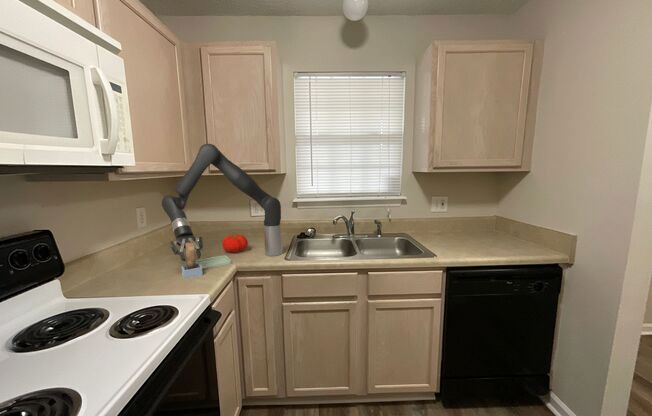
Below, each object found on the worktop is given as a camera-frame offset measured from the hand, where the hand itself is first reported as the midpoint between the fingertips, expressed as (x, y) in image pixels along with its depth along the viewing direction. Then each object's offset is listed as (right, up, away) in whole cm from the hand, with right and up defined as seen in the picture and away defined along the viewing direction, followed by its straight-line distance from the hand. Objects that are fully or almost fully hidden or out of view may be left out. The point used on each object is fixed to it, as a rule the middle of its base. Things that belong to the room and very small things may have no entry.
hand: (192, 258), depth 124 cm
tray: (+2, -6, +18) cm, 19 cm away
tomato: (+6, -3, +41) cm, 42 cm away
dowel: (-1, -8, +2) cm, 8 cm away
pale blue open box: (-1, -9, +2) cm, 9 cm away
